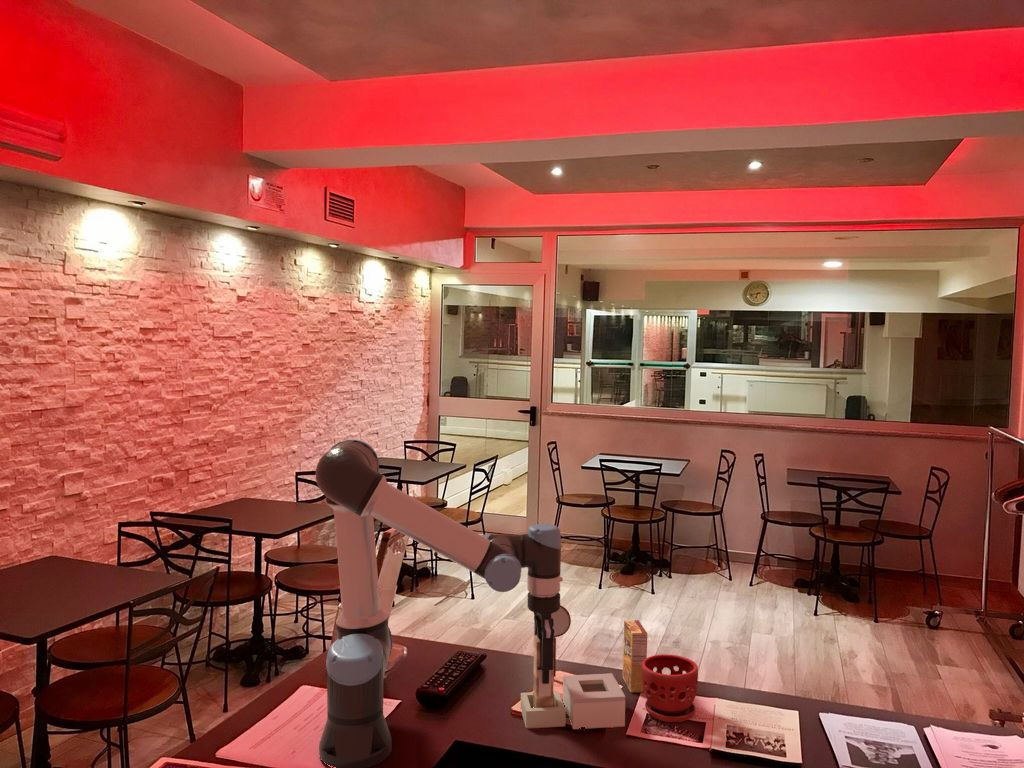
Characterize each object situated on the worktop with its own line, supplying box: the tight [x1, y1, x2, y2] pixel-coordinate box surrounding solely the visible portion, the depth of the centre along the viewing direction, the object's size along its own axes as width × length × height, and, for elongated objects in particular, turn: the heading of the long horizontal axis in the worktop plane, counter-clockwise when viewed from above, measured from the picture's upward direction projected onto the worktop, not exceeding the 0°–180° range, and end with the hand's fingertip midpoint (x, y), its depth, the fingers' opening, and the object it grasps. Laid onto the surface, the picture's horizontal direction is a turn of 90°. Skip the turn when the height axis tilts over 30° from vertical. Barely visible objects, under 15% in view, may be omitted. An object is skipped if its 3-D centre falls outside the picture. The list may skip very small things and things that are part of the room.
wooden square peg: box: [532, 635, 555, 708], centre depth 181 cm, size 4×4×17 cm
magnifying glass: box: [551, 604, 572, 677], centre depth 201 cm, size 9×2×20 cm, turn 85°
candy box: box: [622, 619, 648, 694], centre depth 198 cm, size 9×4×15 cm, turn 6°
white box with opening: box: [562, 672, 626, 730], centre depth 183 cm, size 12×12×7 cm
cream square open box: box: [520, 690, 566, 729], centre depth 182 cm, size 9×9×4 cm
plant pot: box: [641, 653, 699, 723], centre depth 184 cm, size 13×13×12 cm
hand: (543, 690), depth 181 cm, fingers closed on wooden square peg, 4 cm apart
